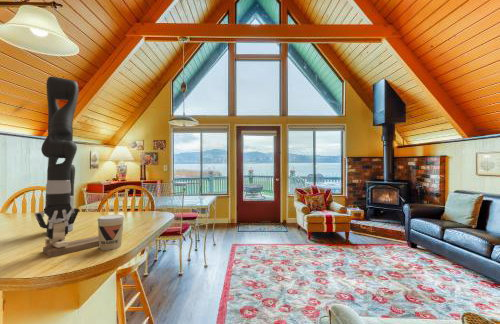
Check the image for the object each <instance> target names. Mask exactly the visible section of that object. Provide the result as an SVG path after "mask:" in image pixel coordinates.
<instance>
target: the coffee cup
mask: <svg viewBox="0 0 500 324" xmlns="http://www.w3.org/2000/svg"><path fill="white" fill-rule="evenodd" d="M124 219H125V217H124V215H122V214H107V215H102V216H99V217H98V219H97V223H98V224H97V227H98V228H97V231H98V236H99V246H98V247H99V249H100V250H103V251H105V250H106V251H108V250H114V249H115V250H116V249H118V248H120V247H121V246H122V242H123V241H122V240H123V231H124V221H125V220H124Z"/></svg>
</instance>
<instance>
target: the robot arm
mask: <svg viewBox="0 0 500 324" xmlns="http://www.w3.org/2000/svg"><path fill="white" fill-rule="evenodd" d="M79 92H80V91H79V85H78V82H77V81H76V80H73V79H68V78H63V77H58V76H49V77H48V78H47V79H46V99H47V111H48V112H47V113H48V115H47V116H48V117H47V136H46V138H45V139H44V141H43V143H42V144H41V147H40V148H41V153H42V155H43V156H44V157H46V158H48V159H47V161H48V162H47V169H46V170H47V172H46V176H47V177H46V186H45V202H44V203H45V204H44V205H45V207H44V208H43V210H42V211H40V212H35V213H34V216H35V219H36V221H37V223H38V224H39V227H40V228H42V229H46V237H47V239H52V238H53V229H52V227H53V224H54V223H55V222H64V223H65V237H67V235H68V233H69V232H70V231H73V230H74V223H75V221H76V219H77V216H78V214H79V212H80V209H79V208H74V206H75V205H74V204H75V203H74V201H75V179H76V178H75V177H76V168H75V167H76V166H75V165H74V164H73V162H74V159H75V156H76V153H77V151H78V146H77V144H76V142H74V141H73V139H74V138H73V135H74V134H73V133H74V129H73V124H74V123H73V122H74V116H75V112H76V109H77V106H78V105H77V104H78V100H79V94H80V93H79ZM58 100H60V101H67V102H66V103H65V104H64V105H63V106H62V107H59V104H58ZM59 159H64V161H63V162H60V163H58V160H59ZM45 215H46V216H47V217H48V218H47V219H46V220H47V223H46V222H45V220H44V217H45Z"/></svg>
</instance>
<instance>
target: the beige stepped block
mask: <svg viewBox="0 0 500 324" xmlns="http://www.w3.org/2000/svg"><path fill="white" fill-rule="evenodd" d="M52 229H53V238H52V239H49V238H45V246H44V247H46V246H51V245H53V246H55V247H57V248H60V247H64V246H68V242H69V241H67V240H66V236H65V223H64V222H55V223H54V224H53V227H52Z"/></svg>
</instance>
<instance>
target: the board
mask: <svg viewBox="0 0 500 324" xmlns="http://www.w3.org/2000/svg"><path fill="white" fill-rule="evenodd" d="M94 247H99V235H95V236H91V237H86V238H81V239H76V240H71V241H68V246H64V247H60V248H57V247H55V246H53V245H51V246H46V247H45V246H43V247H42V254H44V255H47V256H48V257H50V258H53V257H57V256H61V255H64V254H65V255H66V254H70V253H74V252H77V251H82V250H86V249H90V248H94Z"/></svg>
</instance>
